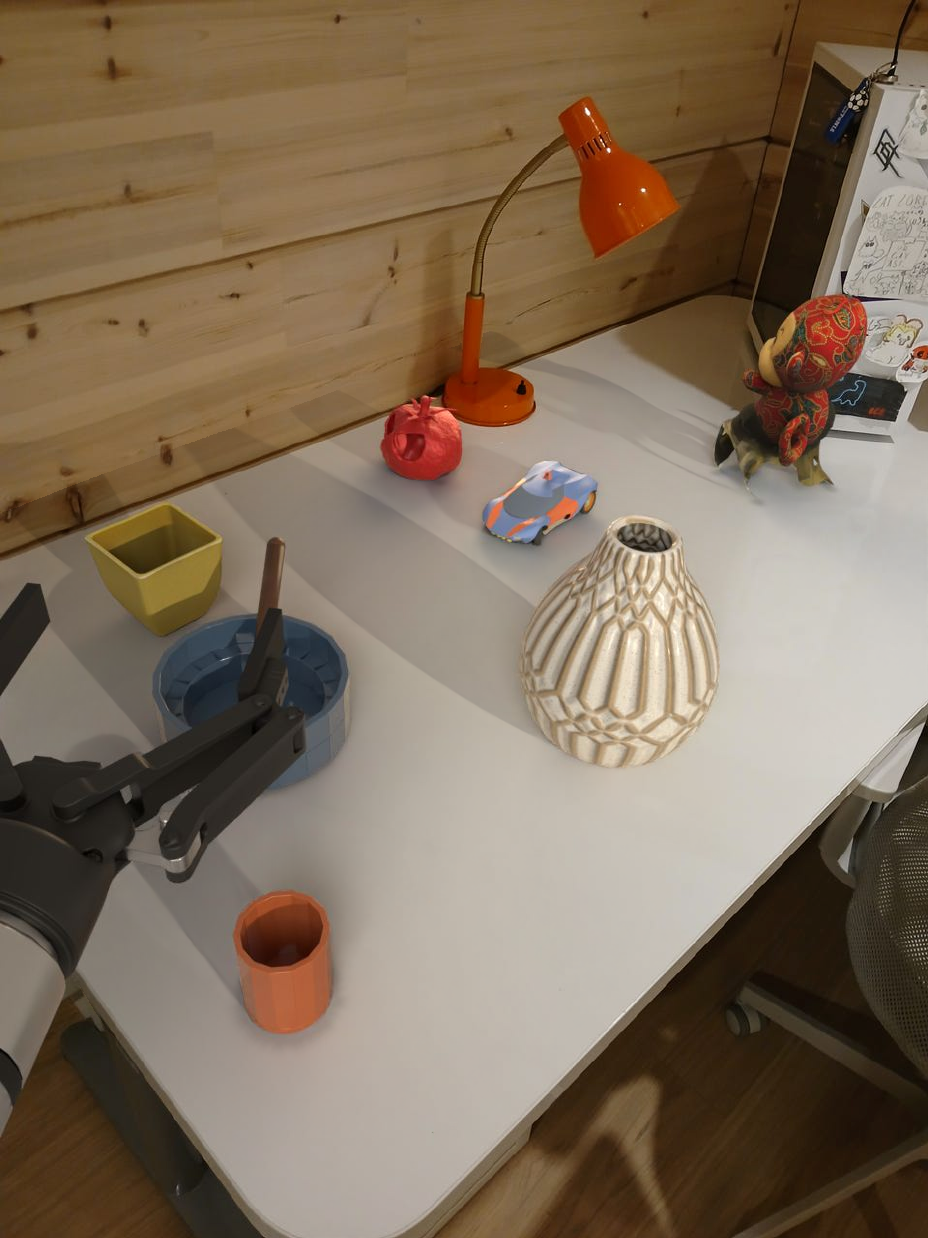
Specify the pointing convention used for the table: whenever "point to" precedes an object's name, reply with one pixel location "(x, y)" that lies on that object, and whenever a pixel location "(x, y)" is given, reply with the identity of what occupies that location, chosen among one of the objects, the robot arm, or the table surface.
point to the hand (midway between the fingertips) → (157, 613)
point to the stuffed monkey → (796, 389)
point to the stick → (271, 579)
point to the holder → (284, 960)
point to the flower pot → (160, 566)
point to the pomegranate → (422, 440)
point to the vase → (622, 650)
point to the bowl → (214, 662)
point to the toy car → (540, 502)
